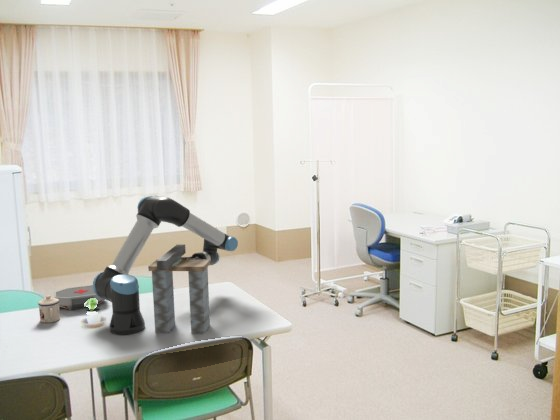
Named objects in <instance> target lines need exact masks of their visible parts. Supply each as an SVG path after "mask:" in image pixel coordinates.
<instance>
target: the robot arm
mask: <svg viewBox="0 0 560 420" xmlns="http://www.w3.org/2000/svg"><path fill="white" fill-rule="evenodd" d="M136 209H137V214H136V215H135V217H136V222H135V224H134V225H133V227H132V228H131V230H130V232H129V234H128V235H127V236H126V237H127V238H125V241H124V243H123V244H122V245H121V247H120V249H119V251H118V253H117V254H116V256H115V258H114V259H113V262H112V263H111V264H109V265H107V266H106V267H105V269H104V270H103V271H102V272H100V273H98V274H96V275H95V277H94V279H93V281H92V285H93V290H94V292H95V294H96V295H98V296H99V297H100V298H102V299H105V300H104V301H108V302H110V303H111V304H112V305H111V307H112V316H111V318H110V323H109V332H110V333H111V334H114V335H117V336H118V335H119V336H121V335H123V336H124V335H132V334H133V335H134V334H136V333H139V332H141V331H143V330H144V329H145V327H146V323H145V320H144V317H143V314H142V312H141V307H140V291H139V288H140V284H139V280H138V278H137V277H135V276H134V275H131V274H129V273H130V271H131V270H132V267H133V265H134V264H135V262H136V261H137V259H138V257H139V256H140V253H141V251H142V250H143V248H144V246H145V244H146V243H147V241H148V239H149V237H150V236H151V234H152V232H153V231H154V229H157V228H159V226H160V224H161V223H162V222H163V223H168V224H172V225H175V226H176V227H180V228H181V227H183V228H184V229H186V230H188V231H189V232H192V233H193V234H195V235H197V236H199V237H200V238H203V246H202V247H203V248H202V252H195V253H193V254H192V255H191V256H182V257H181V258H179V259H185V260H210V265H209V266H214V265H216V264H217V263H218V262H220V258H221V257H220V254H219V252H218V249H219V250H224V251H227V252H234V251H236V249H237V248H238V245H239V243H238V242H239V241H238V239H237V238H236V237H234V236H232V235H228V234H226V233H224V232H223V231H222V230H219V229H218V228H217V227H215V226H213V225H212V224H209V223H207V222H206V221H205V220H202V219H201V218H200V217H198V216H196V215H194V214H193V213H191V211H190V209H188V208H187V207H185V206H184V205H182V204H181V203H180V202H178V201H176V200H174V199H173V198H170V197H165V196H159V195H155V194H154V195H153V194H152V195H146V196H144V197H142V198H141V199H140V200H139V202H138V204H137V208H136Z"/></svg>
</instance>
